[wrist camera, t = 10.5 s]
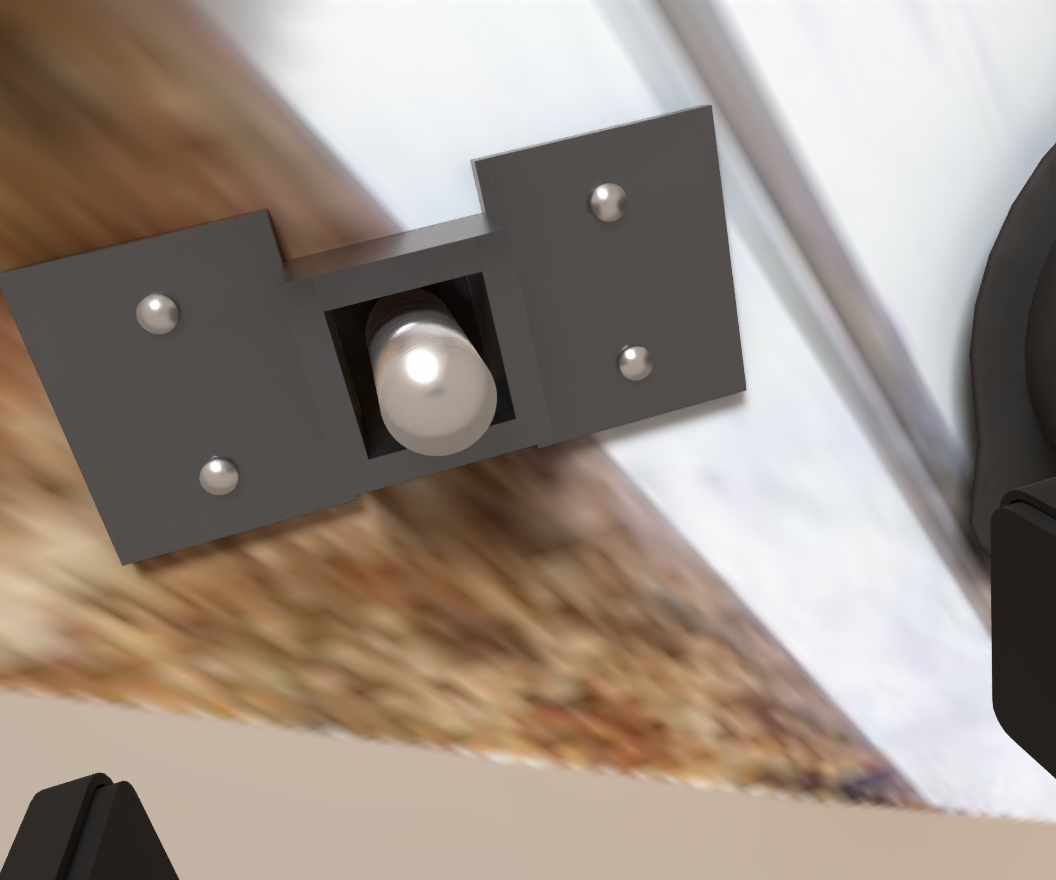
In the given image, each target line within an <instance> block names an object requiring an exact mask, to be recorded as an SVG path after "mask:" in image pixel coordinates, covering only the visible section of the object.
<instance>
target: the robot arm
mask: <svg viewBox="0 0 1056 880" xmlns="http://www.w3.org/2000/svg"><path fill="white" fill-rule="evenodd" d="M990 530H991V621H992V702H993V709H994V712H995V715H996V717H997V719H998V721H999V723H1000V725H1001V726H1002V728H1003V729H1004V731H1005V732H1006V733H1007V734H1008V735H1009V736H1010V738H1011V739H1013V740H1014V741H1015V742H1016V743H1017V744H1018V745H1019V746H1020V747H1021V748H1022V749H1024V750H1025V751H1026V752H1027V753H1028V754H1029V755H1030V756H1031V757H1032V758H1033V759H1035V760H1036V761H1037V762H1038V763H1039V764H1040V765H1041V766H1042V767H1043V768H1044V769H1046V770H1047V771H1048V772H1049V773H1050V774H1051V775H1052V776H1053V777H1054V778H1056V477H1052V478H1049V479H1046V480H1043V481H1039V482H1036V483H1033V484H1030V485H1027V486H1023V487H1020V488H1017V489H1014V490H1010V491H1009V492H1007V493H1006V494H1004V496H1003V498H1002V500H1001V502H1000V508H998V509H997V510H995V511H994V512H993V514H992V516H991V523H990ZM0 880H179V878H178V876H177V874H176V872H175V870H174V868H173V866H172V864H171V862H170V860H169V858H168V856H167V854H166V852H165V850H164V848H163V846H162V844H161V842H160V840H159V838H158V836H157V834H156V832H155V830H154V828H153V826H152V824H151V822H150V820H149V818H148V815H147V813H146V811H145V809H144V807H143V805H142V803H141V801H140V799H139V797H138V795H137V793H136V791H135V790H134V788H133V787H132V785H131V784H130V783H129V782H127V781H121V782H118V783H115V784H114V783H113V782H112V780H111V779H110V778H109V777H108V776H107V775H106V774H104V773H95V774H92V775H89V776H86V777H83V778H79V779H76V780H73V781H70V782H66V783H63V784H60V785H57V786H53V787H50V788H47V789H44V790H41V791H40V792H38V793H36V794H35V796H34V797H33V799H32V801H31V802H30V805H29V807H28V809H27V812H26V814H25V816H24V819H23V821H22V824H21V826H20V828H19V830H18V833H17V835H16V837H15V840H14V842H13V844H12V847H11V849H10V851H9V854H8V856H7V859H6V861H5V863H4V865H3V868H2V870H1V872H0Z"/></svg>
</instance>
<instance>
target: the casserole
mask: <svg viewBox="0 0 1056 880" xmlns="http://www.w3.org/2000/svg"><path fill="white" fill-rule="evenodd" d="M970 362H971V374H972V386H973V397H974V408H975V419H976V430H977V451H976V462H975V474H974V485H973V496H972V507H971V518H970V522H971V525H972V527H973V530H974V533H975V535H976V538H977V541H978V543H979V546H980V548H981V549H982V550H983V551H984V552H985V553H986V554H987V555H988V556H989V557H990V558H991V530H990V523H991V516H992V514H993V512H994V511H995V510H997V509H998V508H1000V502H1001V500H1002V498H1003V496H1004V494H1006V493H1007V492H1009V491H1010V490H1014V489H1017V488H1020V487H1023V486H1027V485H1030V484H1033V483H1036V482H1039V481H1043V480H1046V479H1049V478H1052V477H1056V143H1055V145H1054V146H1053V147H1052V148H1051V149H1050V150H1049V151H1048V152H1047V153H1046V155H1045V156H1044V157H1043V158H1042V159H1041V161H1040V163H1039V164H1038V166H1037V167H1036V169H1035V170H1034V172H1033V173H1032V175H1031V176H1030V178H1029V180H1028V181H1027V183H1026V184H1025V186H1024V187H1023V189H1022V190H1021V192H1020V193H1019V195H1018V197H1017V198H1016V200H1015V201H1014V203H1013V204H1012V206H1011V208H1010V210H1009V213H1008V215H1007V217H1006V219H1005V221H1004V224H1003V226H1002V228H1001V230H1000V232H999V235H998V237H997V239H996V241H995V243H994V246H993V248H992V250H991V252H990V254H989V257H988V261H987V265H986V268H985V272H984V275H983V279H982V283H981V286H980V290H979V293H978V297H977V301H976V304H975V311H974V320H973V330H972V339H971V348H970Z"/></svg>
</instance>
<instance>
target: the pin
mask: <svg viewBox="0 0 1056 880" xmlns="http://www.w3.org/2000/svg"><path fill="white" fill-rule="evenodd" d="M366 340H367V345H368V350H369V355H370V360H371V365H372V370H373V375H374V380H375V385H376V390H377V395H378V400H379V405H380V410H381V415H382V418H383V421H384V424H385V425H386V427H387V429H388V431H389V432H390V434H391V435H392V436H393V437H394V438H395V439H396V440H397V441H398V442H399V443H400V444H401V445H403V446H404V447H406V448H408V449H409V450H412V451H414V452H416V453H420V454H423V455H429V456H444V455H450V454H454V453H457V452H460V451H462V450H464V449H466V448H468V447H469V446H471V445H472V444H474V443H475V442H476V441H477V440H478V439H479V438H480V437H481V436H482V435H483V434H484V433H485V431H486V430H487V429H488V427H489V425H490V424H491V422H492V419H493V417H494V414H495V410H496V404H497V392H496V386H495V382H494V379H493V377H492V375H491V373H490V371H489V369H488V368H487V366H486V365H485V363H484V362H483V360H482V359H481V357H480V356H479V354H478V353H477V351H476V350H475V348H474V347H473V345H472V344H471V342H470V341H469V339H468V338H467V336H466V335H465V333H464V332H463V330H462V329H461V327H460V326H459V324H458V323H457V321H456V320H455V318H454V317H453V315H452V314H451V312H450V311H449V309H448V308H447V306H446V305H445V304H444V303H443V302H442V301H441V300H440V299H439V298H438V297H437V296H435V295H434V294H432V293H430V292H428V291H425V290H422V289H417V288H415V289H411V290H407V291H403V292H399V293H395V294H392V295H388V296H384V297H383V298H381V299H380V300H379V301H378V302H377V303H376V304H375V306H374V307H373V309H372V310H371V312H370V314H369V317H368V320H367V324H366Z"/></svg>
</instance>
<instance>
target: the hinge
mask: <svg viewBox="0 0 1056 880" xmlns="http://www.w3.org/2000/svg"><path fill="white" fill-rule="evenodd" d="M470 161H471V165H472V170H473V174H474V178H475V183H476V187H477V192H478V196H479V201H480V205H481V210H482V213H481V214H476V215H472V216H468V217H464V218H460V219H456V220H452V221H448V222H444V223H440V224H436V225H432V226H427V227H423V228H419V229H415V230H411V231H407V232H403V233H399V234H395V235H391V236H387V237H383V238H378V239H374V240H370V241H366V242H362V243H358V244H354V245H350V246H346V247H342V248H338V249H334V250H329V251H325V252H321V253H317V254H313V255H309V256H305V257H301V258H297V259H293V260H289V261H285V262H284V261H283V258H282V255H281V252H280V248H279V245H278V242H277V239H276V236H275V232H274V229H273V226H272V223H271V220H270V216H269V213H268V210H267V209H262V210H258V211H254V212H250V213H246V214H241V215H237V216H233V217H229V218H224V219H220V220H216V221H212V222H208V223H203V224H199V225H195V226H191V227H187V228H182V229H178V230H174V231H170V232H165V233H161V234H157V235H153V236H149V237H144V238H140V239H136V240H132V241H127V242H123V243H119V244H115V245H111V246H106V247H102V248H98V249H94V250H89V251H85V252H81V253H77V254H73V255H68V256H64V257H60V258H56V259H51V260H47V261H43V262H39V263H35V264H30V265H26V266H22V267H18V268H13V269H9V270H5V271H2V272H0V288H1V291H2V293H3V295H4V297H5V300H6V302H7V304H8V307H9V309H10V311H11V313H12V316H13V318H14V320H15V322H16V325H17V327H18V329H19V332H20V334H21V336H22V338H23V341H24V343H25V345H26V348H27V350H28V352H29V354H30V357H31V359H32V361H33V363H34V366H35V368H36V370H37V373H38V375H39V377H40V379H41V382H42V384H43V386H44V388H45V391H46V393H47V395H48V398H49V400H50V402H51V404H52V407H53V409H54V411H55V413H56V416H57V418H58V420H59V423H60V425H61V427H62V429H63V432H64V434H65V436H66V439H67V441H68V443H69V445H70V448H71V450H72V452H73V454H74V457H75V459H76V461H77V464H78V466H79V468H80V470H81V473H82V475H83V477H84V479H85V482H86V484H87V486H88V489H89V491H90V493H91V495H92V498H93V500H94V502H95V504H96V507H97V509H98V511H99V514H100V516H101V518H102V520H103V523H104V525H105V527H106V530H107V532H108V534H109V536H110V539H111V541H112V543H113V545H114V548H115V550H116V552H117V555H118V557H119V559H120V561H121V564H122V566H124V565H127V564H131V563H135V562H138V561H142V560H145V559H149V558H152V557H156V556H159V555H163V554H166V553H170V552H174V551H177V550H181V549H184V548H188V547H191V546H195V545H198V544H202V543H206V542H209V541H213V540H216V539H220V538H223V537H227V536H230V535H234V534H237V533H241V532H245V531H248V530H252V529H255V528H259V527H262V526H266V525H269V524H273V523H277V522H280V521H284V520H287V519H291V518H294V517H298V516H301V515H305V514H308V513H312V512H316V511H319V510H323V509H326V508H330V507H333V506H337V505H340V504H344V503H348V502H351V501H355V500H356V495H359V494H363V493H366V492H370V491H374V490H377V489H381V488H384V487H388V486H391V485H395V484H399V483H402V482H406V481H409V480H413V479H416V478H420V477H423V476H427V475H431V474H434V473H438V472H441V471H445V470H448V469H452V468H455V467H459V466H463V465H466V464H470V463H473V462H477V461H480V460H484V459H487V458H491V457H495V456H498V455H502V454H505V453H509V452H512V451H516V450H520V449H523V448H527V447H530V446H534V445H536V446H537V448H538V449H539V448H543V447H546V446H550V445H554V444H557V443H561V442H564V441H568V440H571V439H575V438H578V437H582V436H585V435H589V434H593V433H596V432H600V431H603V430H607V429H610V428H614V427H617V426H621V425H625V424H628V423H632V422H635V421H639V420H642V419H646V418H649V417H653V416H656V415H660V414H664V413H667V412H671V411H674V410H678V409H681V408H685V407H688V406H692V405H696V404H699V403H703V402H706V401H710V400H713V399H717V398H720V397H724V396H728V395H731V394H735V393H738V392H742V391H745V390H746V382H745V374H744V366H743V358H742V350H741V342H740V333H739V325H738V317H737V309H736V301H735V293H734V284H733V276H732V268H731V260H730V252H729V244H728V235H727V227H726V219H725V211H724V203H723V195H722V186H721V178H720V170H719V162H718V154H717V146H716V137H715V129H714V121H713V113H712V105H701V106H697V107H693V108H689V109H685V110H680V111H676V112H672V113H668V114H663V115H659V116H655V117H651V118H647V119H642V120H638V121H634V122H630V123H625V124H621V125H617V126H613V127H609V128H604V129H600V130H596V131H592V132H587V133H583V134H579V135H575V136H571V137H566V138H562V139H558V140H554V141H550V142H545V143H541V144H537V145H533V146H528V147H524V148H520V149H516V150H512V151H507V152H503V153H499V154H495V155H490V156H486V157H482V158H478V159H474V160H470ZM463 276H466V278H467V282H468V286H469V290H470V295H471V299H472V303H473V307H474V311H475V316H476V320H477V324H478V328H479V333H480V337H481V341H482V345H483V349H484V354H485V358H486V362H487V366H488V369H489V371H490V373H491V375H492V377H493V379H494V382H495V386H496V392H497V404H496V410H495V414H494V417H493V419H492V422H491V424H490V425H489V427H488V429H487V430H486V431H485V433H484V434H483V435H482V436H481V437H480V438H479V439H478V440H477V441H476V442H475V443H474V444H472V445H471V446H469V447H468V448H466V449H464V450H462V451H460V452H457V453H454V454H450V455H444V456H429V455H423V454H420V453H416V452H414V451H412V450H409V449H408V448H406V447H404V446H403V445H401V444H400V443H399V442H398V441H397V440H396V439H395V438H394V437H393V436H392V435H391V434H390V432H389V431H388V429H387V427H386V425H385V424H384V421H383V418H382V415H381V410H380V409H379V410H375V411H371V412H368V413H364V414H362V411H361V408H360V404H359V401H358V398H357V394H356V391H355V388H354V384H353V381H352V378H351V374H350V371H349V368H348V364H347V361H346V358H345V354H344V351H343V348H342V344H341V341H340V338H339V334H338V331H337V328H336V324H335V321H334V318H333V314H332V311H331V310H332V309H336V308H340V307H344V306H348V305H352V304H356V303H360V302H364V301H368V300H372V299H376V298H380V297H384V296H388V295H392V294H395V293H399V292H403V291H407V290H411V289H415V288H419V287H423V286H427V285H431V284H435V283H439V282H443V281H447V280H451V279H455V278H459V277H463Z"/></svg>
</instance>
